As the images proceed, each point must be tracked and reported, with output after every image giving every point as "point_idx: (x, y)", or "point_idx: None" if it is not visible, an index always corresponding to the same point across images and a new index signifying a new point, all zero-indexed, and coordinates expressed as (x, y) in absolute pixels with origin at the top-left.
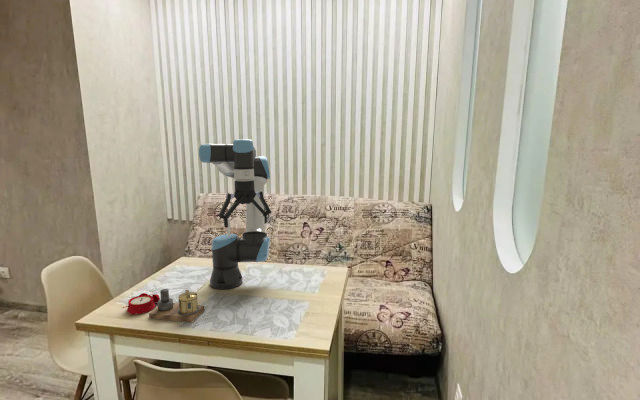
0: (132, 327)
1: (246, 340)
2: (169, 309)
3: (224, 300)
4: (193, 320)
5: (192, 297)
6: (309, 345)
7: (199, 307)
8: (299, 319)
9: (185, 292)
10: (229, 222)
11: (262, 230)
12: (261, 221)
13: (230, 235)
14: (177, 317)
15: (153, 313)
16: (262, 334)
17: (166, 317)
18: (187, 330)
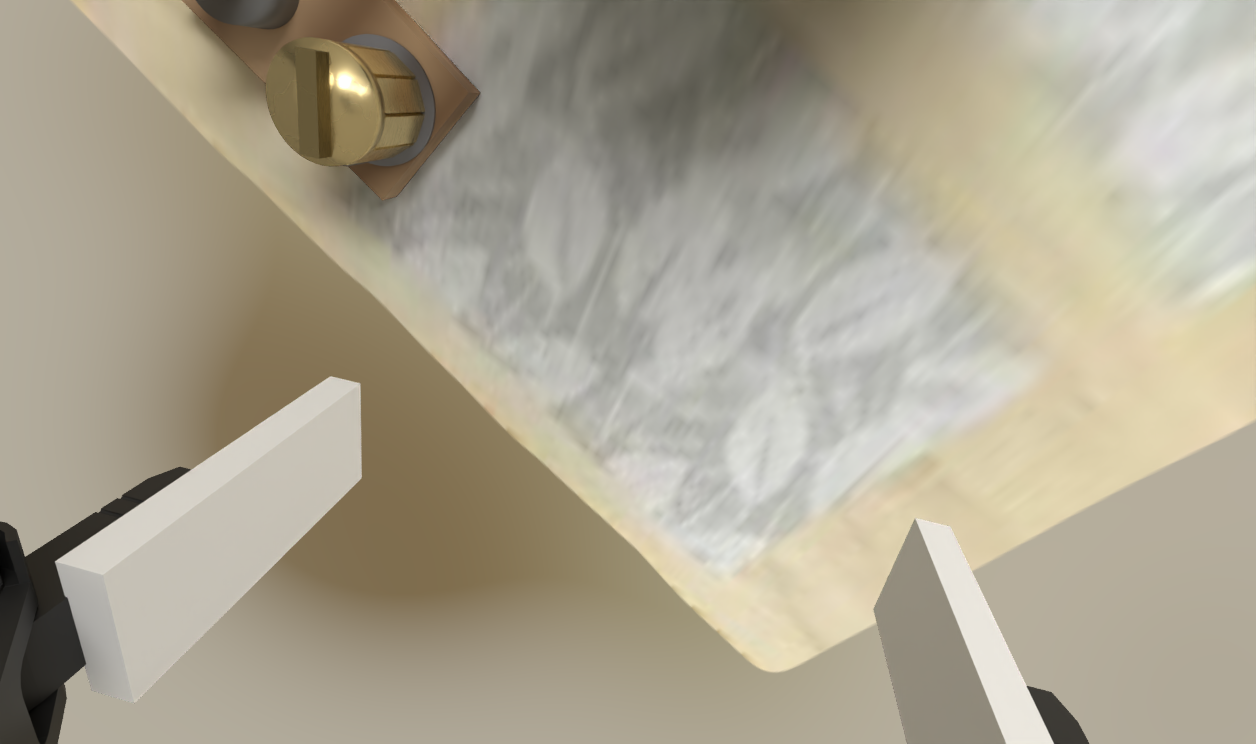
0: (135, 63)
1: (563, 481)
2: (276, 26)
3: (625, 22)
4: (404, 185)
5: (344, 158)
6: (741, 637)
7: (437, 101)
8: (843, 488)
9: (306, 48)
10: (181, 641)
11: (888, 607)
12: (952, 716)
13: (354, 483)
14: None
15: (199, 13)
16: (636, 485)
17: None
18: (369, 260)
